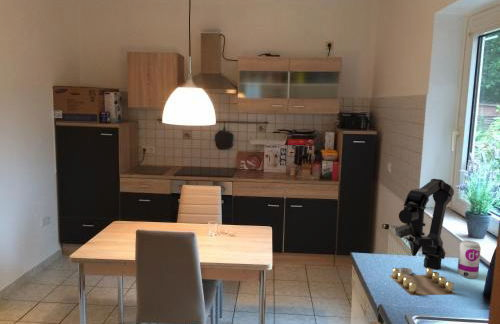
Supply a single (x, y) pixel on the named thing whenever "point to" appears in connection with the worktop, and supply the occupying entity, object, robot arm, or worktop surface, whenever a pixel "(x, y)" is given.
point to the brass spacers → (429, 275)
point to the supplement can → (469, 259)
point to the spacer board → (424, 286)
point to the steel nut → (405, 271)
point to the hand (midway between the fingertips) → (413, 255)
